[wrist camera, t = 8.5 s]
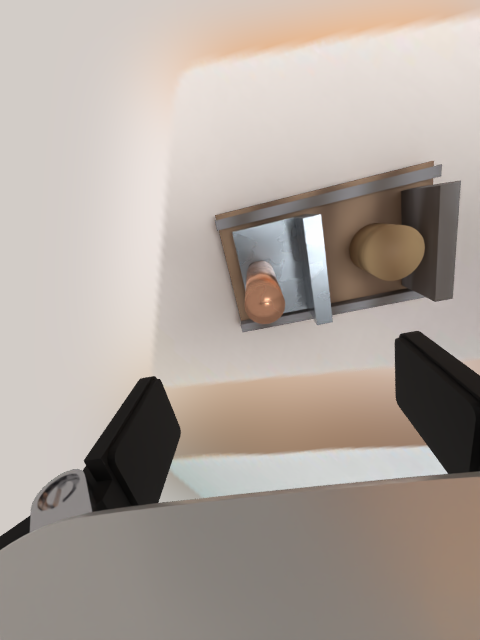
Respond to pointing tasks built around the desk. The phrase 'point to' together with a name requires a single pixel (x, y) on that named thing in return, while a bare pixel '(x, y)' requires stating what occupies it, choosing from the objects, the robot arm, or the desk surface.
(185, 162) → the desk surface
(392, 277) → the tan round peg
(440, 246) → the press base
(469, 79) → the desk surface
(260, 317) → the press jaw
